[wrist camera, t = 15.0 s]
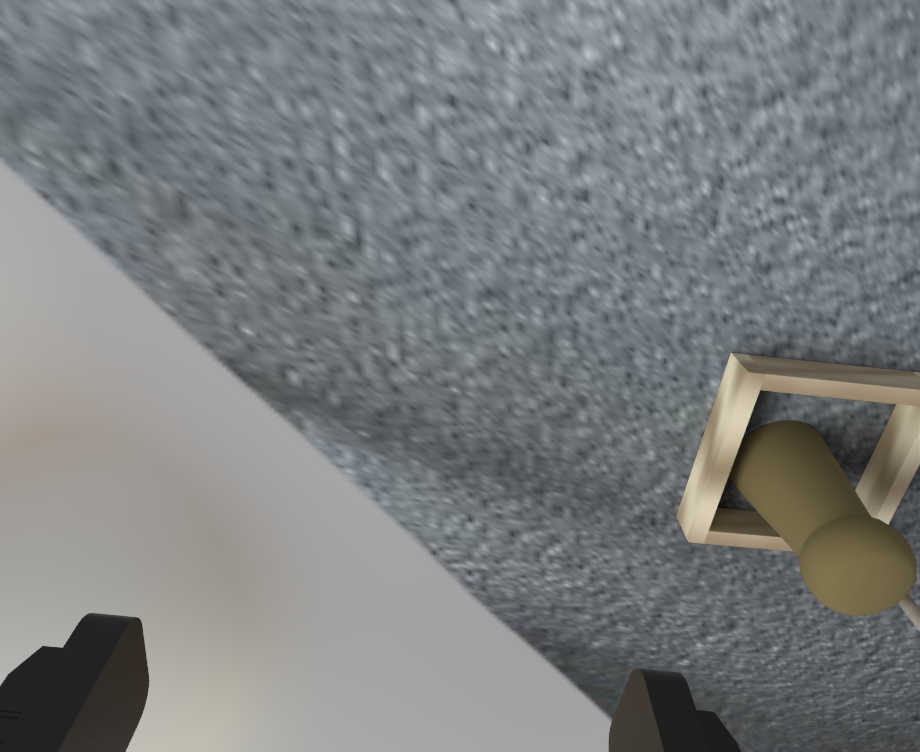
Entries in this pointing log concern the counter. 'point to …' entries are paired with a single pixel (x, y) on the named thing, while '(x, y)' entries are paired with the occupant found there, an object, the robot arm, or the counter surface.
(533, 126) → the counter surface
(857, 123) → the counter surface
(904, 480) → the wooden square frame
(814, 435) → the cork
